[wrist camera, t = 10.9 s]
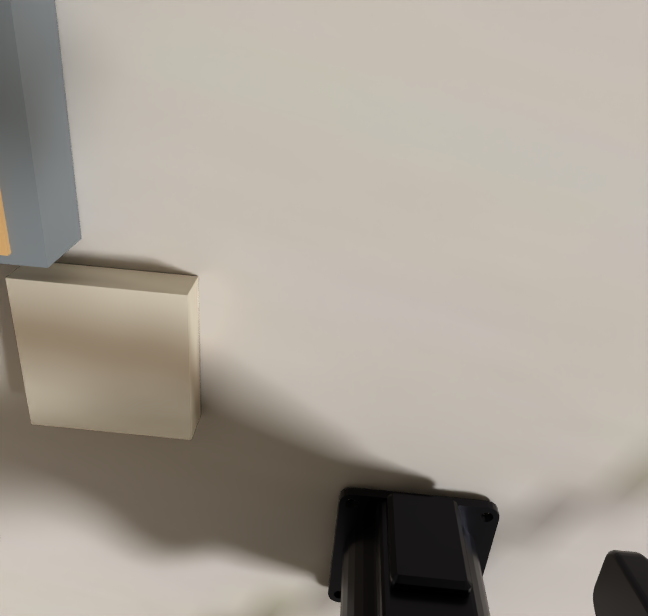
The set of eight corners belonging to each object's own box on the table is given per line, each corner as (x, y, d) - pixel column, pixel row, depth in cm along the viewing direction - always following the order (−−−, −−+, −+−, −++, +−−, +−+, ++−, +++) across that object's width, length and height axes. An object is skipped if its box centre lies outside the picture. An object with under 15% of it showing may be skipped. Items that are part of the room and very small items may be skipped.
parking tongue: (200, 415, 24) (191, 440, 23) (49, 400, 24) (31, 424, 23) (198, 276, 21) (187, 295, 20) (27, 260, 22) (5, 278, 20)
